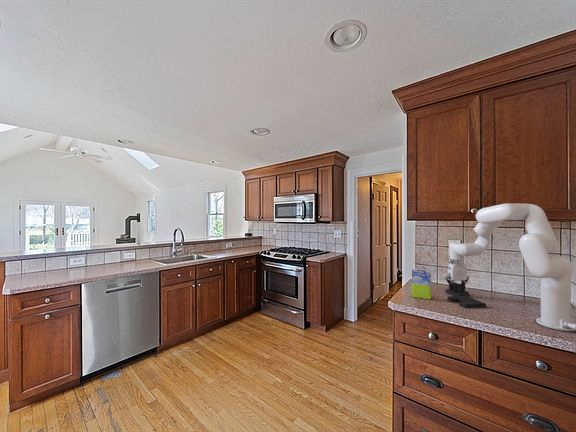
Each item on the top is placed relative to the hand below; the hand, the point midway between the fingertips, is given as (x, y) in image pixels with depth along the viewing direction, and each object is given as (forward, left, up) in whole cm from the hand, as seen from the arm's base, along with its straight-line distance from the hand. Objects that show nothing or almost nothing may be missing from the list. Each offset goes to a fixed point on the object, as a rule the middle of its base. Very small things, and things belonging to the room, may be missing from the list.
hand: (457, 289), depth 164 cm
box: (-4, +26, -3) cm, 26 cm away
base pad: (-16, +7, -3) cm, 18 cm away
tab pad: (0, -1, -3) cm, 3 cm away
